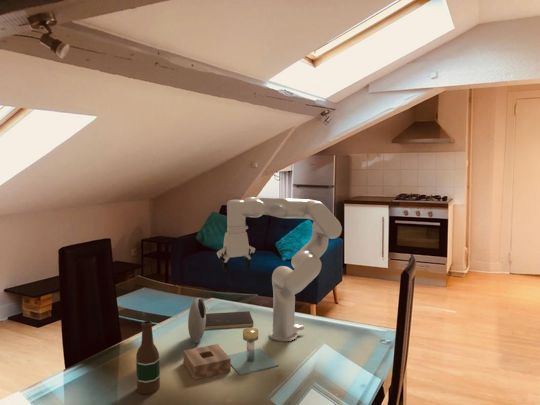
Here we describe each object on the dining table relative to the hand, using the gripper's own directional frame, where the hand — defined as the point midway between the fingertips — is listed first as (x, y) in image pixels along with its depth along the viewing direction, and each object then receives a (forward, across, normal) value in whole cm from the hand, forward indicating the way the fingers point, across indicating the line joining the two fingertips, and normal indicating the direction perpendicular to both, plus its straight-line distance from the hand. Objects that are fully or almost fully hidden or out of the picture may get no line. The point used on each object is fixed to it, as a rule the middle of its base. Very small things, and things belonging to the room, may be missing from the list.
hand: (236, 269), depth 183 cm
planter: (+33, +14, -11) cm, 37 cm away
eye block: (+32, +19, +13) cm, 40 cm away
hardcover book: (+33, -7, -25) cm, 42 cm away
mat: (+33, +2, +17) cm, 37 cm away
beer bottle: (+33, +42, +18) cm, 56 cm away
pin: (+32, +2, +17) cm, 36 cm away
